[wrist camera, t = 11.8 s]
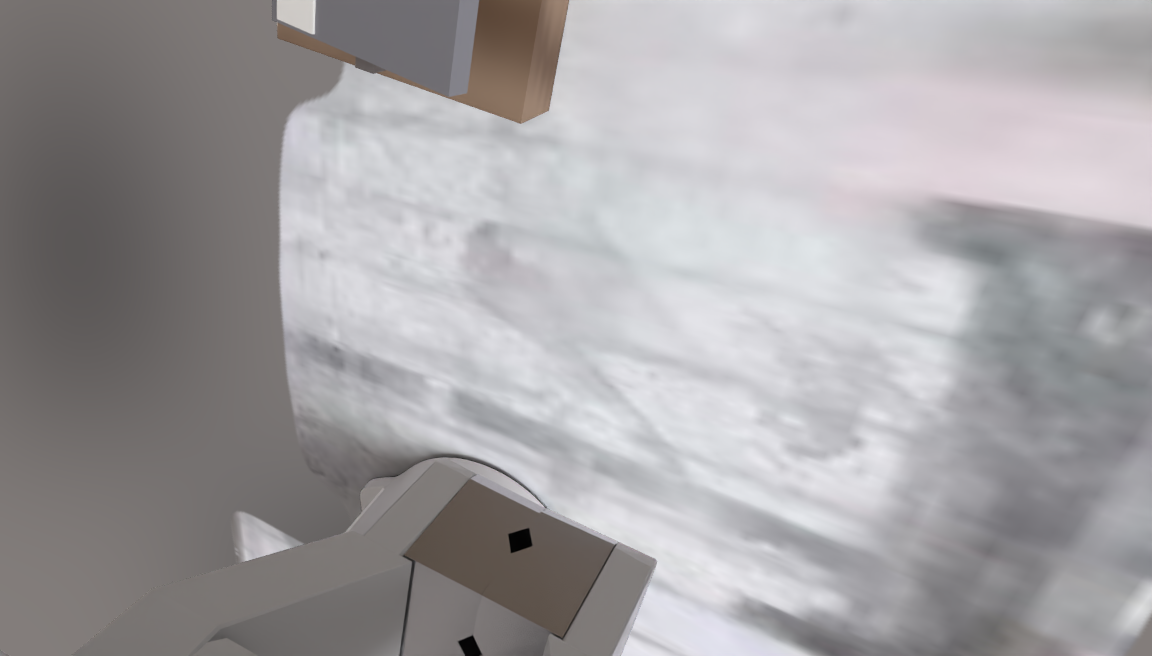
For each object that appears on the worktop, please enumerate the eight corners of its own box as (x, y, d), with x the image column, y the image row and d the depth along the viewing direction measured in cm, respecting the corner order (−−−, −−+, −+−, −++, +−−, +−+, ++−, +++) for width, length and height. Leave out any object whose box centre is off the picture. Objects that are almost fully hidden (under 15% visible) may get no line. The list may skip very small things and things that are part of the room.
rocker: (467, 93, 34) (446, 97, 33) (292, 18, 38) (269, 20, 37) (479, -5, 32) (457, -4, 31) (293, -73, 36) (269, -73, 35)
